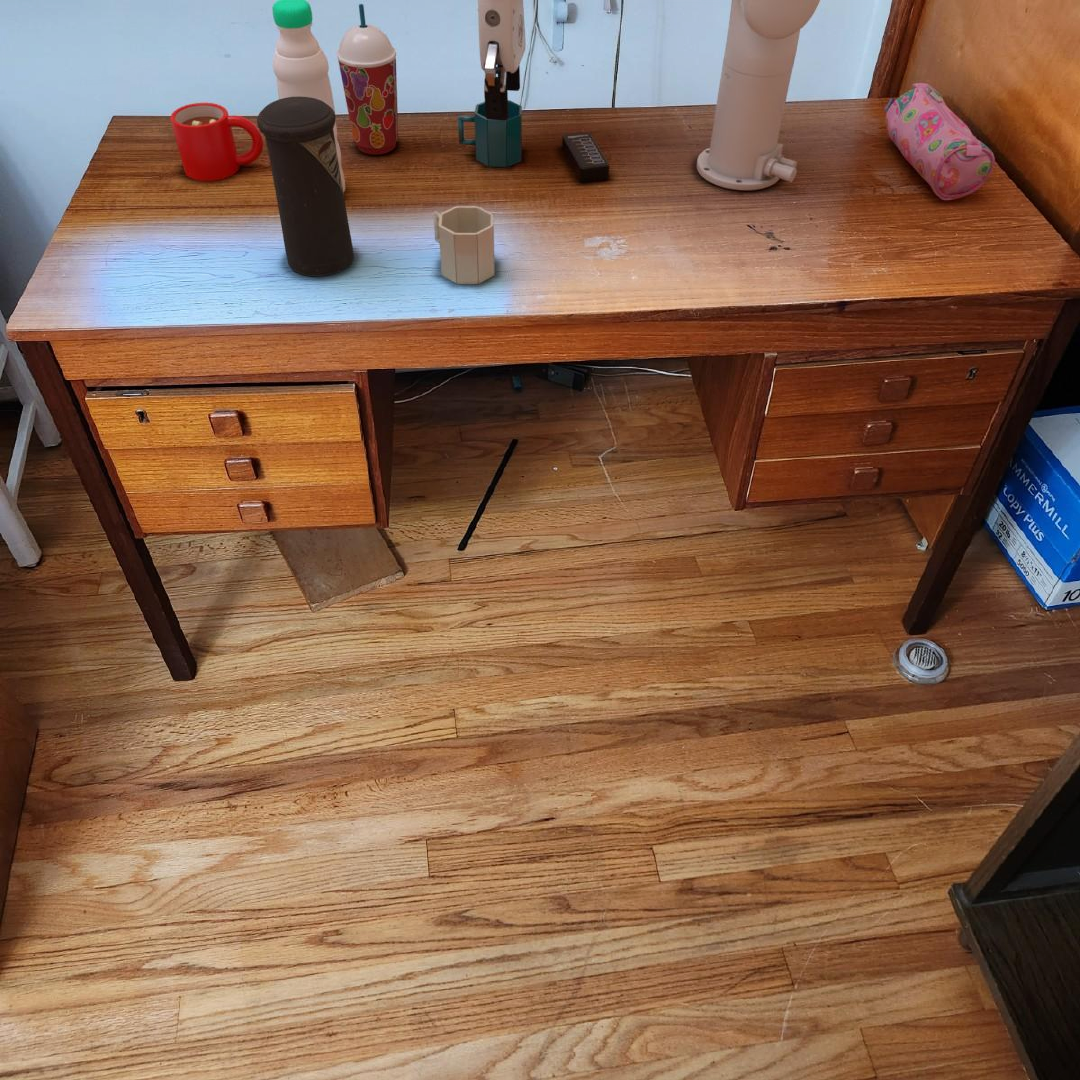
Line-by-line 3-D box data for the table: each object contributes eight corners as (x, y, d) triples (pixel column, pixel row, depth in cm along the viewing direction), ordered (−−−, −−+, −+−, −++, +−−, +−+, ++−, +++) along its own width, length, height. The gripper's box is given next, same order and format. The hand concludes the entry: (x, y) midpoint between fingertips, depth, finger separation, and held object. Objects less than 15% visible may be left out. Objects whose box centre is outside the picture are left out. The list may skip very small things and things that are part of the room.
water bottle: (301, 179, 139) (268, -9, 120) (349, 181, 139) (324, -7, 120) (291, 204, 134) (255, 12, 116) (341, 206, 134) (313, 14, 116)
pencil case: (874, 136, 152) (891, 78, 145) (930, 135, 152) (949, 77, 146) (922, 206, 137) (943, 144, 131) (983, 204, 138) (1007, 143, 131)
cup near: (505, 269, 124) (504, 220, 119) (467, 290, 121) (465, 240, 116) (455, 241, 129) (453, 192, 123) (417, 261, 125) (413, 212, 120)
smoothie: (408, 135, 149) (397, -5, 134) (398, 161, 143) (384, 18, 128) (356, 132, 149) (338, -8, 134) (343, 157, 144) (323, 14, 129)
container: (360, 273, 123) (339, 118, 108) (289, 283, 121) (258, 127, 106) (349, 238, 129) (328, 86, 114) (281, 247, 127) (251, 94, 112)
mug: (266, 178, 139) (255, 124, 133) (181, 182, 138) (166, 128, 132) (269, 152, 144) (259, 100, 138) (187, 156, 143) (173, 103, 137)
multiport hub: (580, 183, 140) (580, 168, 138) (560, 148, 147) (561, 134, 145) (609, 180, 141) (610, 165, 139) (588, 146, 148) (589, 131, 146)
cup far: (522, 146, 147) (522, 100, 142) (520, 167, 143) (520, 121, 137) (461, 144, 147) (459, 98, 142) (457, 165, 143) (455, 118, 138)
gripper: (514, -2, 120) (518, 132, 133) (536, -48, 132) (538, 80, 144) (456, -5, 121) (465, 129, 134) (482, -50, 133) (489, 78, 145)
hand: (503, 104), depth 139 cm, fingers open, 9 cm apart
